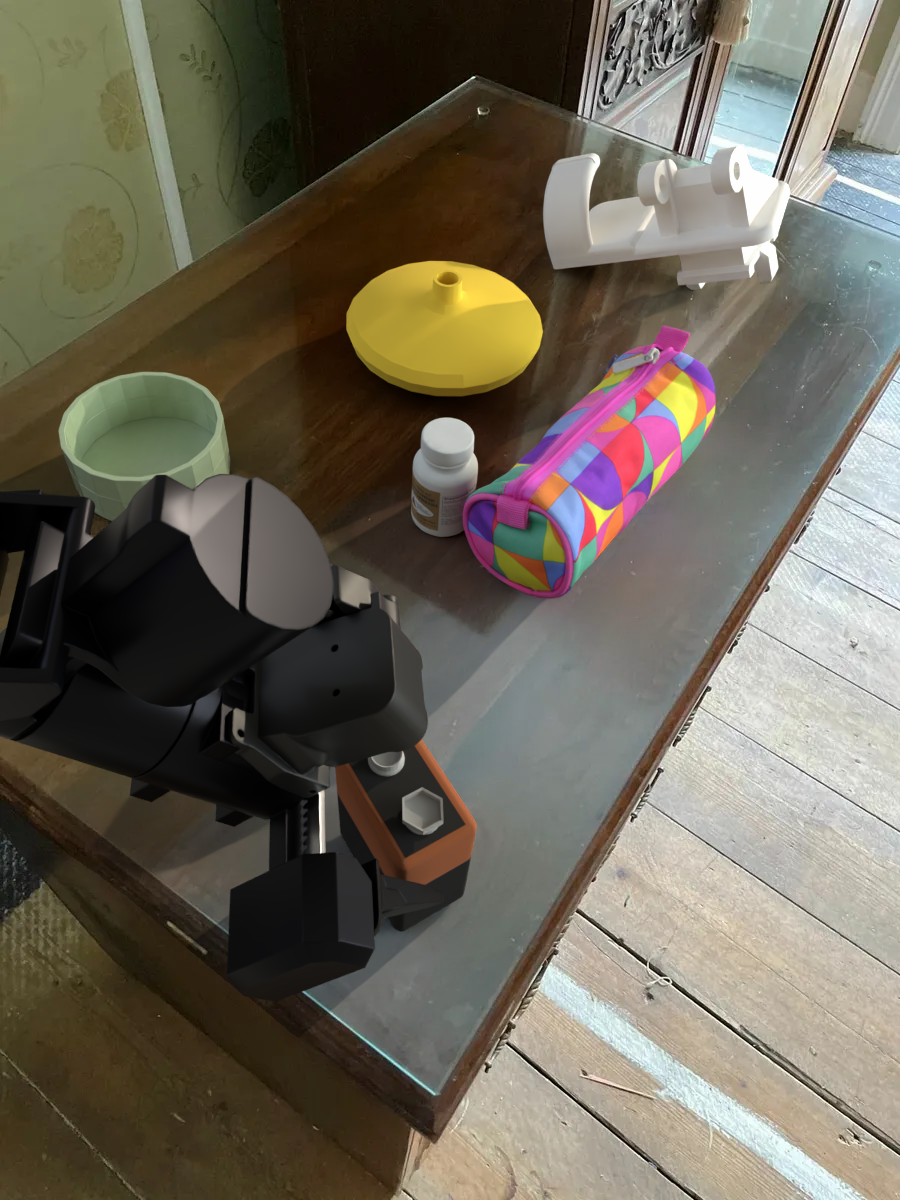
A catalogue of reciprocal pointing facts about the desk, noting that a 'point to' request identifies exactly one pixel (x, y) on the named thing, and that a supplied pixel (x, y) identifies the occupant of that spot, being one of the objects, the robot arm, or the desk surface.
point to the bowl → (141, 437)
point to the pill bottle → (443, 476)
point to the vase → (444, 328)
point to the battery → (407, 823)
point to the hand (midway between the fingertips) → (428, 808)
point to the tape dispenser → (670, 218)
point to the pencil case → (593, 469)
